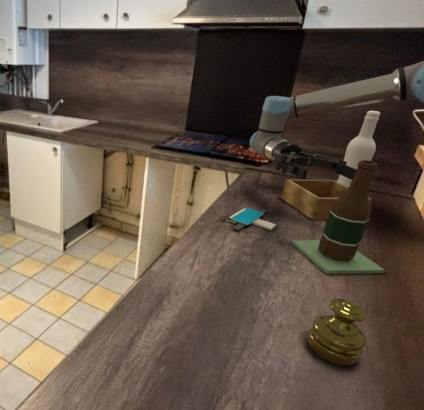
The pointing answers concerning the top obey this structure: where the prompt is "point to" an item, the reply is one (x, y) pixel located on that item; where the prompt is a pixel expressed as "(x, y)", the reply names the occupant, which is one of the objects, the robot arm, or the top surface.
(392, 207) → the top surface
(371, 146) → the bottle
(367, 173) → the beer bottle
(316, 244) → the mat
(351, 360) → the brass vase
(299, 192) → the open wooden box
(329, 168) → the robot arm
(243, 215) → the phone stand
